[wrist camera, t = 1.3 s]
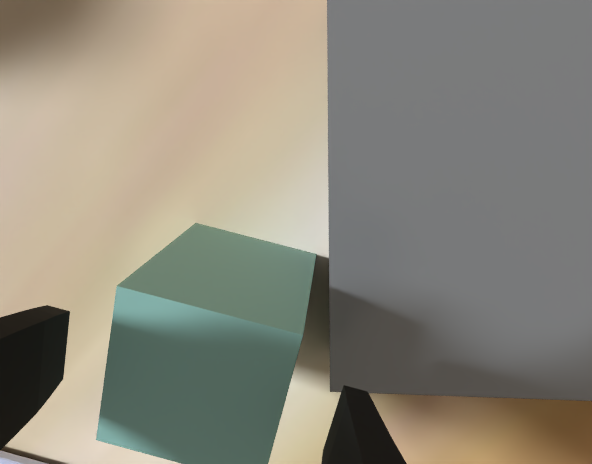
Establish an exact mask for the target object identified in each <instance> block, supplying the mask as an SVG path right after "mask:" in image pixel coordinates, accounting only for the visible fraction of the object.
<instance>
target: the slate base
mask: <svg viewBox="0 0 592 464" xmlns="http://www.w3.org/2000/svg"><path fill="white" fill-rule="evenodd" d="M327 35H328V175H329V314H330V392H342V389H343V386H344V385H345V386H349V387H353V388H357V389H360V390H364V391H367V392H368V393H382V394H410V395H438V396H467V397H495V398H523V399H552V400H580V401H592V0H327Z"/></svg>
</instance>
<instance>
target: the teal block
mask: <svg viewBox="0 0 592 464" xmlns="http://www.w3.org/2000/svg"><path fill="white" fill-rule="evenodd" d="M315 260H316V254H313V253H310V252H306V251H302V250H298V249H294V248H290V247H286V246H283V245H279V244H275V243H271V242H267V241H263V240H259V239H256V238H252V237H248V236H244V235H240V234H236V233H232V232H229V231H225V230H221V229H217V228H213V227H209V226H205V225H202V224H198V223H195V224H194V225H193V226H191V227H190V228H189V229H188V230H186V231H185V232H184V233H183V234H181V235H180V236H179V237H178V238H176V239H175V240H174V241H173V242H171V243H170V244H169V245H168V246H166V247H165V248H164V249H163V250H161V251H160V252H159V253H158V254H156V255H155V256H154V257H153V258H151V259H150V260H149V261H148V262H146V263H145V264H144V265H143V266H141V267H140V268H139V269H137V270H136V271H135V272H134V273H132V274H131V275H130V276H129V277H127V278H126V279H125V280H124V281H122V282H121V283H120V284H119V285H117V289H116V296H115V304H114V311H113V319H112V326H111V333H110V341H109V348H108V356H107V363H106V371H105V378H104V386H103V393H102V401H101V408H100V415H99V423H98V430H97V438H96V440H98V441H102V442H105V443H109V444H113V445H116V446H120V447H124V448H127V449H131V450H134V451H138V452H142V453H145V454H149V455H153V456H156V457H160V458H164V459H167V460H171V461H175V462H178V463H182V464H268V462H269V458H270V454H271V451H272V447H273V443H274V440H275V436H276V432H277V429H278V425H279V421H280V418H281V414H282V411H283V407H284V403H285V400H286V396H287V392H288V389H289V385H290V381H291V378H292V374H293V370H294V367H295V363H296V359H297V356H298V352H299V348H300V345H301V341H302V337H303V333H304V327H305V321H306V314H307V308H308V302H309V296H310V290H311V284H312V278H313V272H314V266H315Z"/></svg>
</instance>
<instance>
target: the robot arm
mask: <svg viewBox="0 0 592 464" xmlns="http://www.w3.org/2000/svg"><path fill="white" fill-rule="evenodd" d="M69 315H70V311H66V310H63V309H59V308H55V307H51V306H48V305H47V306H42V307H37V308H33V309H29V310H25V311H22V312H18V313H15V314H11V315H8V316H4V317H1V318H0V450H1V449H2V448H3V447H4V446H5V445H6V444H7V443H8V442H9V441H10V440H11V439H12V438H13V437H14V436H15V435H16V434H17V433H18V432H19V431H20V430H21V429H22V428H23V427H24V426H25V425H26V424H27V423H28V422H29V421H30V420H31V419H32V418H33V417H34V415H35V414H36V413H37V412H38V411H39V410H40V409H41V407H42V406H43V405H44V404H45V402H46V401H47V400H48V398H49V397H50V396H51V395H52V393H53V392H54V390H55V389H56V388H57V386H58V385H59V384H60V382H61V381H62V380H63V375H64V365H65V355H66V345H67V335H68V325H69ZM0 464H47V463H44V462H40V461H36V460H33V459H29V458H26V457H22V456H18V455H15V454H11V453H8V452H4V451H0ZM322 464H406V462H405V460H404V459H403V457H402V455H401V453H400V452H399V450H398V448H397V446H396V445H395V443H394V441H393V439H392V437H391V436H390V434H389V432H388V430H387V428H386V426H385V424H384V422H383V420H382V419H381V417H380V415H379V413H378V411H377V409H376V407H375V405H374V403H373V401H372V399H371V397H370V395H369V393H368V392H367V391H364V390H360V389H357V388H353V387H349V386H345V385H344V386H343V389H342V392H341V395H340V398H339V402H338V405H337V408H336V411H335V414H334V417H333V421H332V424H331V427H330V430H329V433H328V437H327V440H326V443H325V446H324V449H323V456H322Z"/></svg>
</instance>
